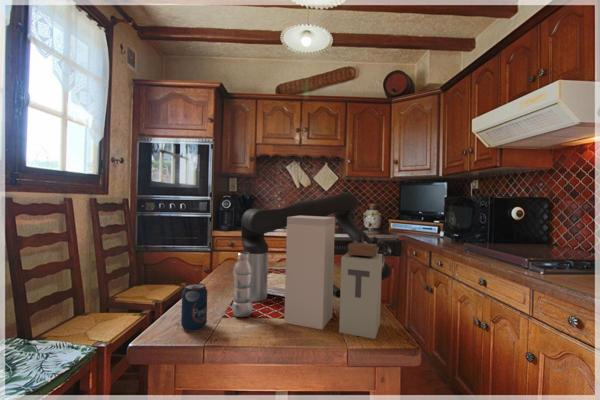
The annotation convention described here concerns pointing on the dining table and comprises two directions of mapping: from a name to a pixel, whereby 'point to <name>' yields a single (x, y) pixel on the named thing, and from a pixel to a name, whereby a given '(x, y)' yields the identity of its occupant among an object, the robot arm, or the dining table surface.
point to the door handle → (336, 291)
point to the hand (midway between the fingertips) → (367, 239)
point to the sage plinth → (360, 295)
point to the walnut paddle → (362, 249)
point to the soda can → (194, 307)
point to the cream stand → (309, 271)
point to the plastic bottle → (242, 286)
